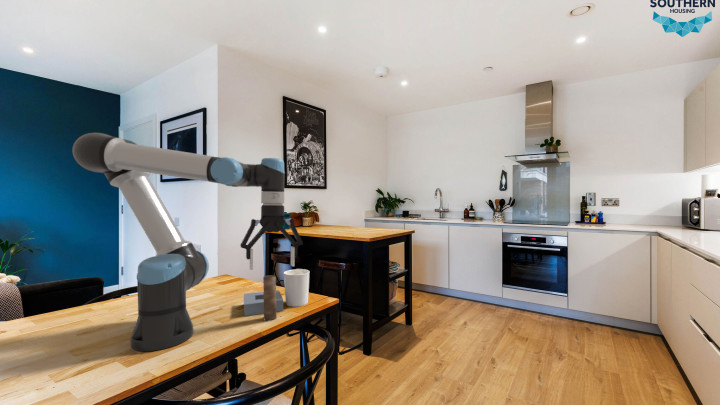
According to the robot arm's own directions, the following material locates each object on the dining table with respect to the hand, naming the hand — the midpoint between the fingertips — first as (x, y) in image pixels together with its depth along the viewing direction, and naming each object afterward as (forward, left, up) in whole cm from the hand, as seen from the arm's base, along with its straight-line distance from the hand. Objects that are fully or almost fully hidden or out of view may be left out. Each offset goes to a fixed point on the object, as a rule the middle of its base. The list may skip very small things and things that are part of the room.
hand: (272, 267), depth 105 cm
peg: (-1, -1, -17) cm, 17 cm away
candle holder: (+10, +11, -17) cm, 23 cm away
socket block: (-3, +11, -17) cm, 20 cm away
